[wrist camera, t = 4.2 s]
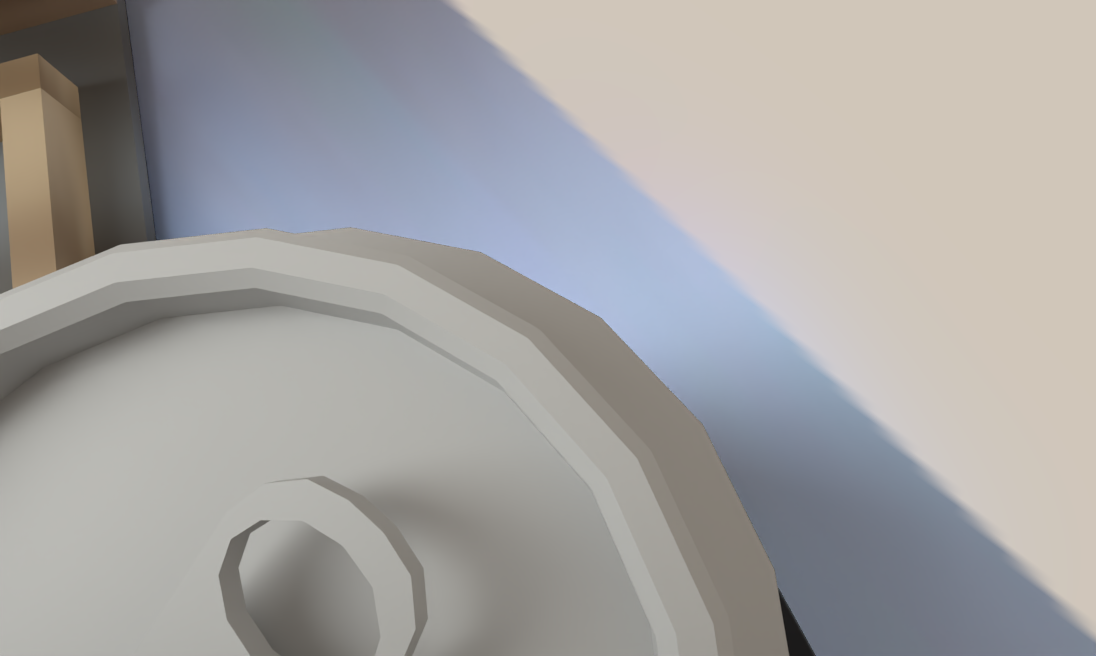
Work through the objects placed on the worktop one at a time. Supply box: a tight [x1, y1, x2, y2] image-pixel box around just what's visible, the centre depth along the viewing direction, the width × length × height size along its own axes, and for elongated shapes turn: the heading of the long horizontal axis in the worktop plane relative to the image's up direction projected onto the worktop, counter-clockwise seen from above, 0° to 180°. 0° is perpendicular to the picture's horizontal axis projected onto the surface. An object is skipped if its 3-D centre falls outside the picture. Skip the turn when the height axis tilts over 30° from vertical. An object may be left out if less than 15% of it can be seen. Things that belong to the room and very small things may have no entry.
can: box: [0, 227, 789, 656], centre depth 9 cm, size 8×8×12 cm
